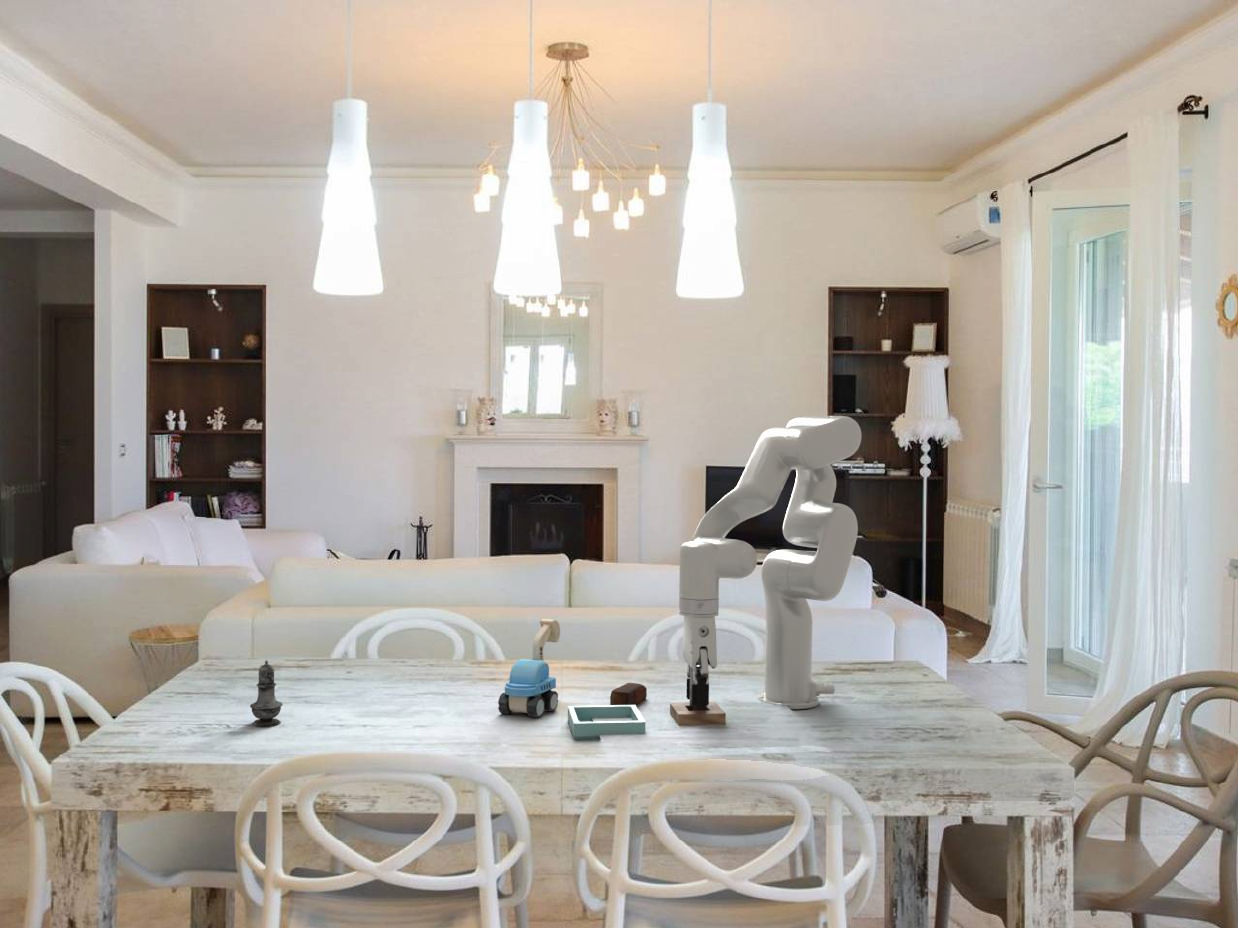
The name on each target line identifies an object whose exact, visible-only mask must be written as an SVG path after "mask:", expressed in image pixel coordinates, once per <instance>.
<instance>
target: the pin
mask: <svg viewBox="0 0 1238 928" xmlns="http://www.w3.org/2000/svg"><path fill="white" fill-rule="evenodd" d="M696 668H701V666H700V665H697V667H696ZM698 673H700V671H697V674H698ZM697 676H698V675H697ZM692 684H694V682H693V668H691V667H690V699H689V703H690V711H705V706H693V705H692Z"/></svg>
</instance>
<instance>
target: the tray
mask: <svg viewBox="0 0 1238 928" xmlns="http://www.w3.org/2000/svg"><path fill="white" fill-rule="evenodd" d="M593 718H630V719H631V720H613V721H611V720H608V721H605V720H602V721H594V719H593ZM567 723H568V727H569V729H570V732H571V735H572V736H571V737H572V739H573V738H574V739H573V740H574V741H577V740H576V739H580V740H579V741H583V740H582V739H586V740H589V741H591V740H592V739H594V740H602V738H601V735H624V734H646V721H645V718H644V717H643V716H642V714H641V712H640V710H639V709H638V707H637V705H610V704H608V705H606V704H605V705H567ZM586 740H585V741H586ZM594 740H593V741H594Z"/></svg>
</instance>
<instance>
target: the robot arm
mask: <svg viewBox="0 0 1238 928" xmlns="http://www.w3.org/2000/svg"><path fill="white" fill-rule="evenodd" d="M861 442H862V430H861V427H860V425H859V423H858V422H857V421H856V420H855V419H853V418H852V417H850V416H847V415H845V416H844V415H803V416H798V417H795V418H792V419H791V420H789V421H788V423H787V425H786V426H779V427H778V426H776V427H772V428H768V429H766V430H764V432H763V433H762V434H761V435H760V437H759V439H758V440H757V442H756V444H755V447H754V449H753V451H752V453H751V455H750V457H749V460H748V462H747V464H746V466H745V468H744V470H743V472H742V475H741V476H740V479H739V481H738V482H737V485H736V486H735V487H734V489H732V490H731V491H730V492H728V493H727V494H725V495H724V496H723V497H722V498H721V499H720V500H719V501H717V503H716V502H715V504H714V505H713V506H712V507H710V509H709V510H708V511H706V513H705V514H704V516H703V517H702V518H701V520H700V521H699V523H698V526H697V527H696V530H695V531H694V534H693V535H692V538H691V541H688V542H684V543H682V545H680V549H679V580H678V581H679V583H678V584H679V586H678V587H679V588H678V589H679V593H678V596H679V597H678V598H679V599H678V600H679V601H678V614H679V616H682V617H683V633H682V635H683V636H682V638H683V639H682V640H683V641H682V645H683V646H682V648H683V649H682V651H683V652H682V653H683V656H682V657H683V659H684V662H685V663H687V671H686V699H687V700H690V667H691V668H693V682H694V684H692V705H693V706H707V705H708V704H709V702H710V700H709V699H710V679H709V677H710V676H709V674H710V671H709V670H710V669H709V667H710V668H711V669H713V670H714V669H716V668H717V667H718V654H717V647H718V646H717V627H716V618H715V617H718V616H719V608H720V607H719V603H720V601H719V599H720V598H719V597H720V589H719V588H720V579H732V580H737V579H739V580H740V579H744V578H747V577H748V576H750V575H751V574H752V573H753V572H754V571H755V569H756V567H757V564H758V554H757V552H756V550H755V548H754V546H752V545H751V544H749V543H748V542H746V541H744V540H739V539H734V538H733V539H731V538H726V536H727V535H728V533H729V532H730V531H731V530H732V529H733V528H735V527H737V526H738V525H739V524H741V523H742V522H745V521H746V520H748V519H751V518H754V517H757V516H759V515H761V514H764V513H765V512H768V511H769V510H771V509H773V508H774V507H775V506H776V504H777V502H778V500H779V498H780V495H781V493H782V491H783V489H784V486H785V484H786V483H787V480H788V478H789V476H790V473H791V472H792V471H793V470H795V472H796V477H795V480H794V481H795V482H794V486H793V489H792V493H791V497H790V499H789V503H788V507H787V509H786V513H785V516H784V520H783V524H782V534H783V537H784V539H785V540H786V541H787V542H788V543H790V544H792V545H795V546H799V547H806V548H812V549H813V548H814V549H817V550H816V552H813V551H808V550H807V551H806V550H799V549H798V550H797V549H788V548H787V549H784V548H782V549H777V550H775V551H772V552H770V553H769V554H768V555H767V556H766V557H765V559H764V560H763V563H762V566H761V573H760V574H761V582H762V587H763V593H764V600H765V640H764V641H765V645H764V648H765V650H764V653H765V655H764V691H762V692H760V693H758V694H757V695H756V698H757V700H758V701H761V702H764V703H767V704H771V705H779V706H786V707H787V708H788V709H790V710H804V709H811V708H815V707H816V706H817V707H818V705H819V701H820V700H819V697H820V695H823V694H824V695H834V694H835V690H836V689H835V685H834V684H825V683H816V682H815V681H814V680H812V667H813V663H812V658H813V615H812V610H811V608H810V605H809V603H808V601H807V600H812V601H813V600H814V601H818V602H820V601H821V602H828V601H831V600H833V599H835V598H836V597H837V596H838V595H839V594H840V592H841V590H842V588H843V586H844V584H845V581H846V577H847V574H848V571H849V567H850V563H851V560H852V557H853V553H854V550H855V547H856V544H857V543H856V542H857V538H858V533H859V532H858V530H859V526H858V520H857V519H858V518H857V517H856V514H855V512H854V511H853V509H852V508H851V507H849V506H848V505H846V504H843V503H839V502H837V503H836V502H833V501H834V497H835V493H836V488H837V478H836V477H837V476H836V474H835V471H834V469H833V467H832V466H831V465H832V464H836V463H838V462H841V461H843V460H845V459H849V458H850V457H851V456H853V455H854V454H855V453H856V452H857V451H858V450H859V448H860V445H861ZM697 665H700V666H701V668H696V667H697ZM697 671H700V673H698V674H697ZM697 675H698V676H697Z"/></svg>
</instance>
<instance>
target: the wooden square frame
mask: <svg viewBox="0 0 1238 928" xmlns="http://www.w3.org/2000/svg"><path fill="white" fill-rule="evenodd" d="M669 714H670V716H671V717H672V719H673V720H674V721H675V723H676V724H677V726H696V725H698V726H701V725H703V726H704V725H705V726H709V725H711V726H712V725H726V722H727V721H726V720H727V717H726V716H727V715H726V712H725V711H724V709H723V708H721V707H720V705H719V704H718V703H717V702H716V701H709V704H708V705H707V706H705V711H690V702H670V703H669Z"/></svg>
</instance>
